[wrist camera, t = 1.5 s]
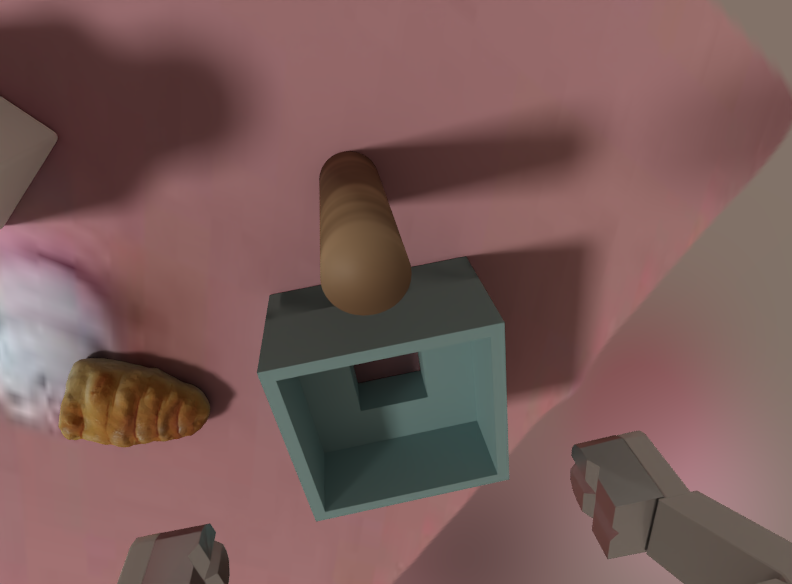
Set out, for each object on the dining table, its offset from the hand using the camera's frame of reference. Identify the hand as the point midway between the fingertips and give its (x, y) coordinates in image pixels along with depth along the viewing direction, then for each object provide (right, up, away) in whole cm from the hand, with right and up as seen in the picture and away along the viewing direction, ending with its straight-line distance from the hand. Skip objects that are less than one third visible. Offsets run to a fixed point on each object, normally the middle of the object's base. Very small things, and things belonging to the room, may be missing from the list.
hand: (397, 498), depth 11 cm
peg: (-3, +11, +18) cm, 22 cm away
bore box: (-1, 0, +26) cm, 25 cm away
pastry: (-19, -2, +25) cm, 31 cm away
